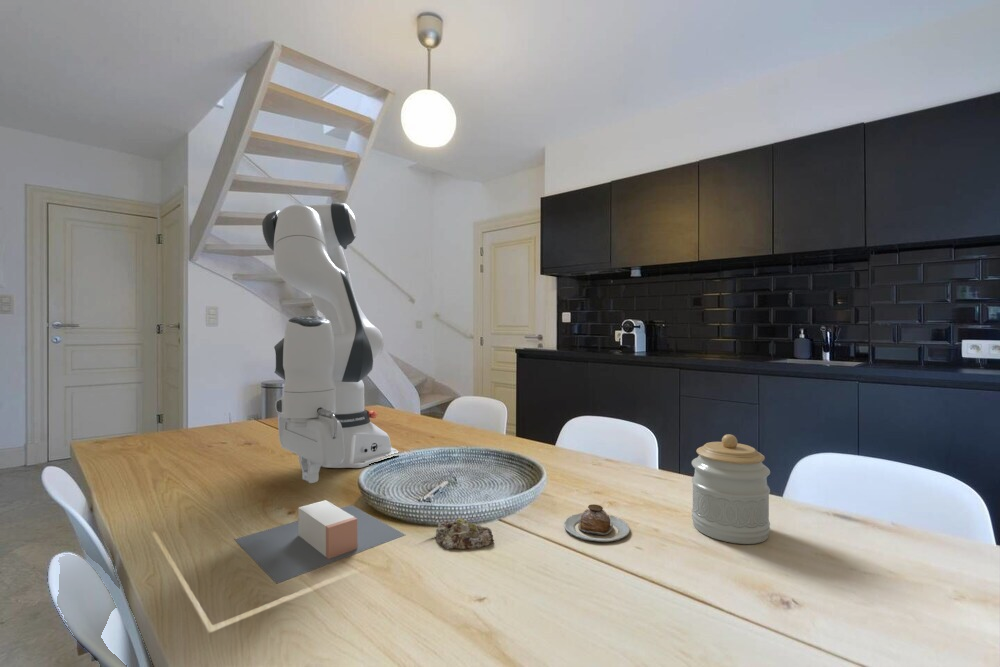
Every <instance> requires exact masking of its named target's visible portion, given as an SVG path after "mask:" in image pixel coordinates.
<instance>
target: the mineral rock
mask: <svg viewBox="0 0 1000 667" xmlns="http://www.w3.org/2000/svg"><path fill="white" fill-rule="evenodd" d="M435 537H436V538H435V540H436V543H437V544H439V545H440V546H442V547H443V548H445V549H447V550H449V549H453V550H454V549H458V550H464V549H465V550H466V549H470V550H472V549H480V548H482V547H484V546H485V547H488V546H489V545H490V544H493V543H494V542H495V540H494V535H493V533H492V529H491V528H490V527H487V526H481V525H480V524H475V523H472V522H470V523H468V522H467V520H466V519H465V518H462V517H461V518H460V517H459V518H457V519H456V521H452V522H451V521H450V522H448V521H443V522H442V523H441V522H439V523H438V525H437V528H436V531H435Z"/></svg>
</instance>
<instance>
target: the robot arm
mask: <svg viewBox="0 0 1000 667" xmlns="http://www.w3.org/2000/svg"><path fill="white" fill-rule="evenodd" d="M356 219H357V218H356V216H355V214H354V212H353V211H352V209H351V207H350V206H349V205H348V204H346V203H343V202H332V203H315V204H291V205H288V206H286V207H284V208H283V209H282V210H280V209H277V210H275V211H272V212H269V213H267V214H266V216H265V217H264V218H263V220H262V223H261V225H262V227H261V228H262V230H261V232H262V236H263V238H264V241H265V243H266V245H267V246H268V247H269V248H268V249H270V250H272V251H273V260H274V264H275V265H274V266H275V270H276V273H277V274H278V276H279V277H280V279H282V280H283V281H284V282H285V283H286V284H287V285H289V286H290V287H292V288H294V289H296V290H298V291H300V292H301V291H302V292H304V293H308V294H310V296H311V300H312V305H313V306H314V307H315V309H316V310H317V311H319V313H321V314H322V315H323V316H324V317H322V316H313V315H308V316H307V315H306V316H301V315H300V316H294V317H292V318H290V319H288V320H287V321H286V325H285V331H284V337H283V338H282V339H281V340H280V341H278V342H277V343H276V344H275V345H274V351H275V353H274V354H275V371H274V374H276V375H277V376H278V377H279V378H281V379H282V380H284V384H283V389H282V396H281V397H280V398H278V399H277V400H276V401H275V405H274V408H275V412H277V413H278V416H277V425H278V426H277V427H278V439H279V444H280V446H281V448H282V449H284V450H287V451H288V452H291V453H293V454H296V455H297V456H298V462H299V465H300V468H301V471H302V473H301V475H302V476H301V478H302V480H303V481H305V482H307V483H309V484H313V483H317V482H319V479H320V478H319V472H320V469H321V468H327V469H346V468H348V469H349V468H351V469H361V468H364V467H367V466H370V465H369V464H371V463H372V462H374V461H376V460H378V459H380V458H383V457H385V456H388V455H391V454H394V453H398V452H399V450H397V449H396V448H394V447H392V442H391V439H390V436H389V434H388V433H387V432H386V431H384V430H383V429H381V428H380V427H378V426H377V425H376V424H374V423H373V422H372V421H371V419H376V418H377V417H378V412H376V411H375V410H367V409H365V384H364V381H363V380H364V378H366V377H367V376H368V375H369V374H370V373H371V371H372V370H373V367H374V366H373V365H374V360H376V359H377V358H379V357H380V355H381V354H382V352H383V350H384V344H385V341H384V336H383V334H382V332H381V330H380V329H379V328H378V327H376V326H375V325H374V324H373V323H371V321H370V320H369V319H368V318H367V316H366V315H365V313H364V312H363V311H362V308H361V307H360V304H359V303H358V300H357V297H356V294H355V290H354V286H353V283H352V282H353V281H352V278H351V274H350V269H349V265H348V261H347V258H346V254H345V253H344V250H346V249H348V246H349V245H351V244H352V243H353V242H354V240H355V239H356V238H357V237H356V236H357V230H358V224H357V220H356ZM371 465H372V464H371Z"/></svg>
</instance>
